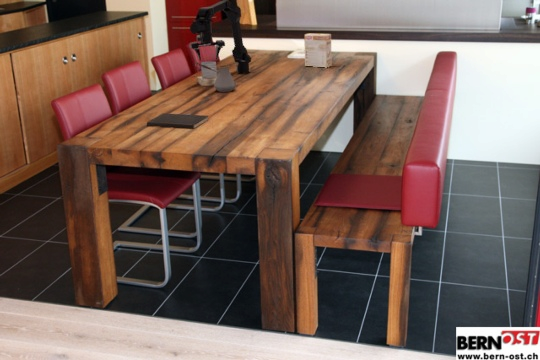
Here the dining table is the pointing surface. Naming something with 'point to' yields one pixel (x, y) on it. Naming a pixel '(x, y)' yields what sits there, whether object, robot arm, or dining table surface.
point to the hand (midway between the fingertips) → (208, 60)
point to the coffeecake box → (317, 50)
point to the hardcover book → (178, 120)
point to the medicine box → (207, 72)
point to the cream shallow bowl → (206, 81)
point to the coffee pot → (222, 78)
